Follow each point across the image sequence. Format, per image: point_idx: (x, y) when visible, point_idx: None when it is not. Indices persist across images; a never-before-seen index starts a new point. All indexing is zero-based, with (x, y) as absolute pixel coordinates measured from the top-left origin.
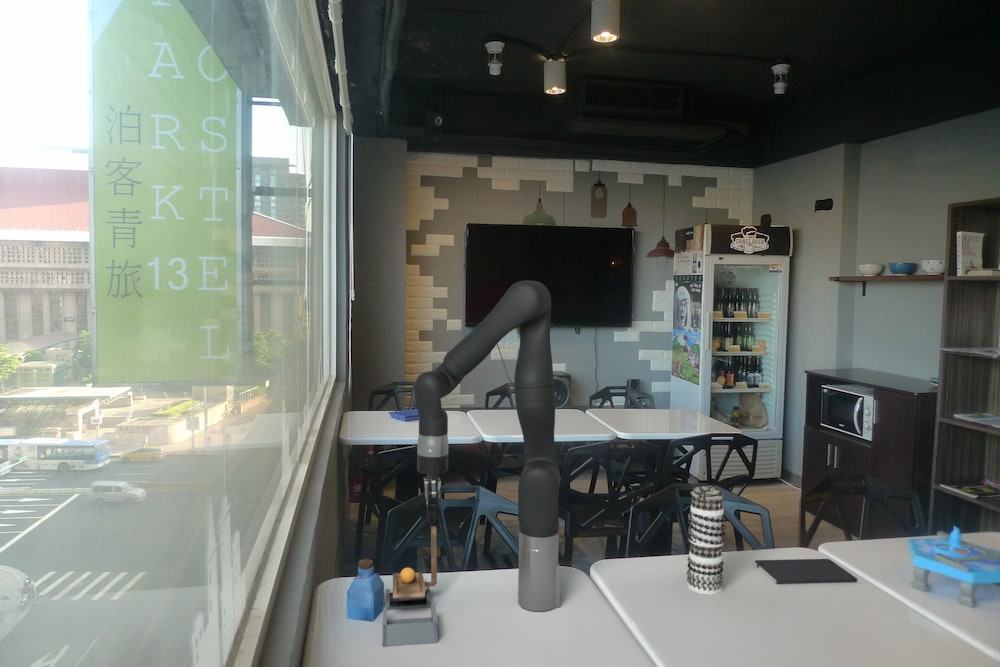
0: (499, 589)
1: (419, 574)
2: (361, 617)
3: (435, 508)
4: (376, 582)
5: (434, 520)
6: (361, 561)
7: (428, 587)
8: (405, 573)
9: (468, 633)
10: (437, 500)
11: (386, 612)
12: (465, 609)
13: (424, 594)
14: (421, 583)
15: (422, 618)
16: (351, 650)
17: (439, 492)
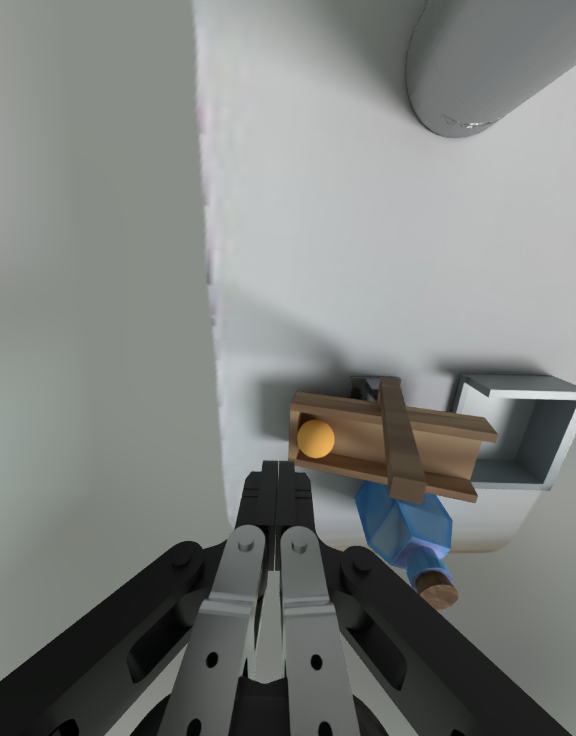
0: (344, 182)
1: (328, 415)
2: None
3: (294, 525)
4: (427, 526)
5: (305, 475)
6: (432, 605)
7: (375, 391)
8: (330, 450)
9: (545, 309)
10: (465, 644)
11: (490, 483)
12: (432, 300)
13: (485, 420)
14: (495, 442)
15: (462, 400)
16: (508, 505)
17: (350, 687)
